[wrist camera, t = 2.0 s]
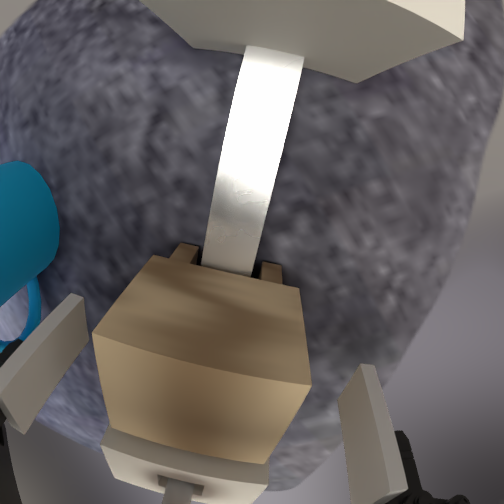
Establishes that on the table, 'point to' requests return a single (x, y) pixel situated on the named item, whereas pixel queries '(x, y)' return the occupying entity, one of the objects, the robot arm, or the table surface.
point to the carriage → (204, 358)
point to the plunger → (178, 492)
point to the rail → (250, 158)
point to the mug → (25, 236)
